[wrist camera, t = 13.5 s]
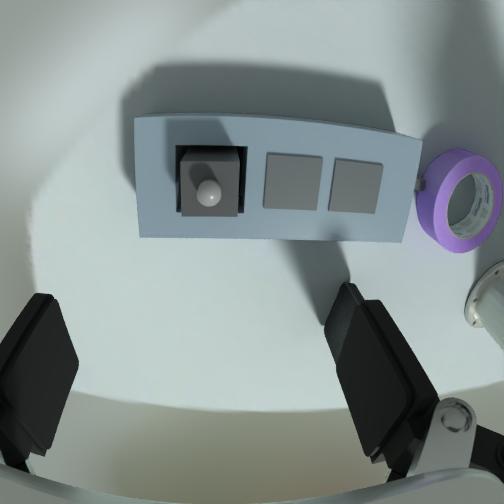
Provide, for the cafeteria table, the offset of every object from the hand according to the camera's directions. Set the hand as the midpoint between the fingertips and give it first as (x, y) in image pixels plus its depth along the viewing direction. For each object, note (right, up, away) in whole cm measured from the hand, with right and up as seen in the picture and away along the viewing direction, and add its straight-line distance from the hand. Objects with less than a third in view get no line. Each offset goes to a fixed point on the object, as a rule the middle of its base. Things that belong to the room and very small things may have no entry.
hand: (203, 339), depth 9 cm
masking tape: (+26, +9, +23) cm, 36 cm away
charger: (-2, +11, +19) cm, 22 cm away
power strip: (+6, +10, +20) cm, 24 cm away
